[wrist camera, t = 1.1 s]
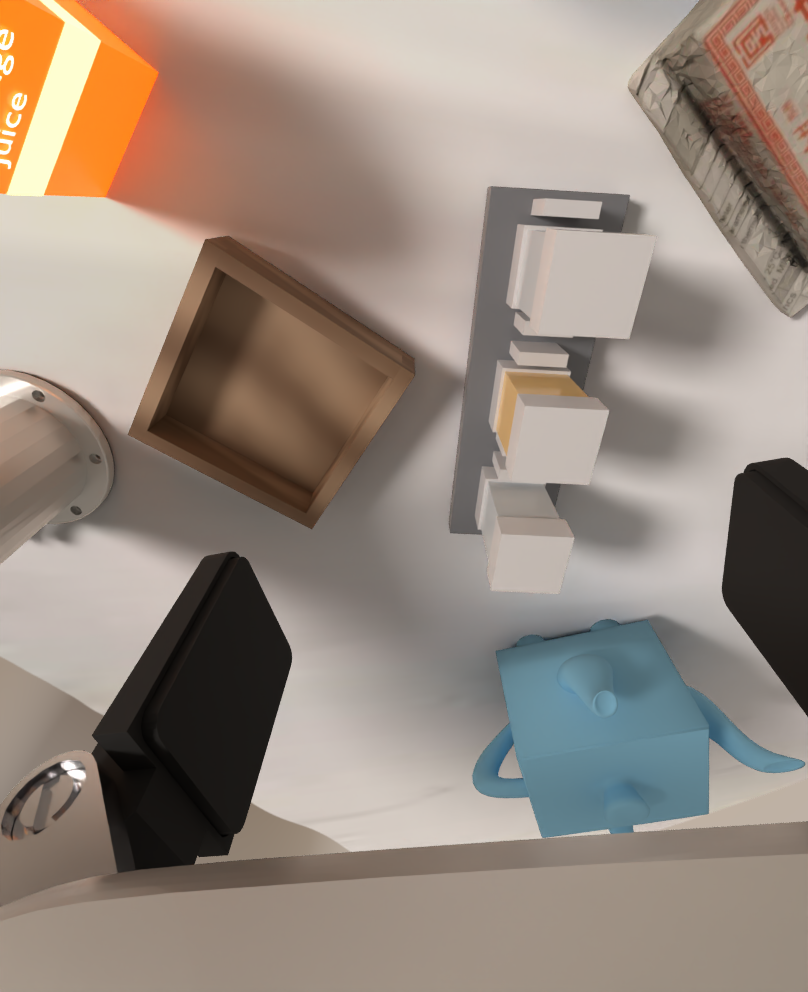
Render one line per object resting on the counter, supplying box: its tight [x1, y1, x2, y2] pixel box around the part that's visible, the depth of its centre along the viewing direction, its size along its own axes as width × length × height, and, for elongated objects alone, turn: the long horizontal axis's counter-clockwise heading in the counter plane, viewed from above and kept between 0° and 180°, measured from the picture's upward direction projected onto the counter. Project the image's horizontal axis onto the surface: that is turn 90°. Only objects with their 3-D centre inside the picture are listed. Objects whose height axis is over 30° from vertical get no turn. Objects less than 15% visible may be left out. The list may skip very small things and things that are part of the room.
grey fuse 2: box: [506, 224, 657, 339], centre depth 27 cm, size 4×4×9 cm
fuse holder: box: [449, 186, 630, 535], centre depth 34 cm, size 24×8×4 cm, turn 177°
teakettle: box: [472, 619, 805, 838], centre depth 44 cm, size 19×19×15 cm
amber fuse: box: [489, 360, 610, 485], centre depth 31 cm, size 4×4×9 cm
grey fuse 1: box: [475, 466, 575, 594], centre depth 35 cm, size 4×4×9 cm
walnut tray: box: [128, 236, 415, 529], centre depth 34 cm, size 14×14×4 cm
